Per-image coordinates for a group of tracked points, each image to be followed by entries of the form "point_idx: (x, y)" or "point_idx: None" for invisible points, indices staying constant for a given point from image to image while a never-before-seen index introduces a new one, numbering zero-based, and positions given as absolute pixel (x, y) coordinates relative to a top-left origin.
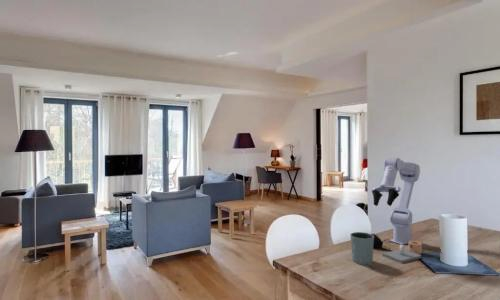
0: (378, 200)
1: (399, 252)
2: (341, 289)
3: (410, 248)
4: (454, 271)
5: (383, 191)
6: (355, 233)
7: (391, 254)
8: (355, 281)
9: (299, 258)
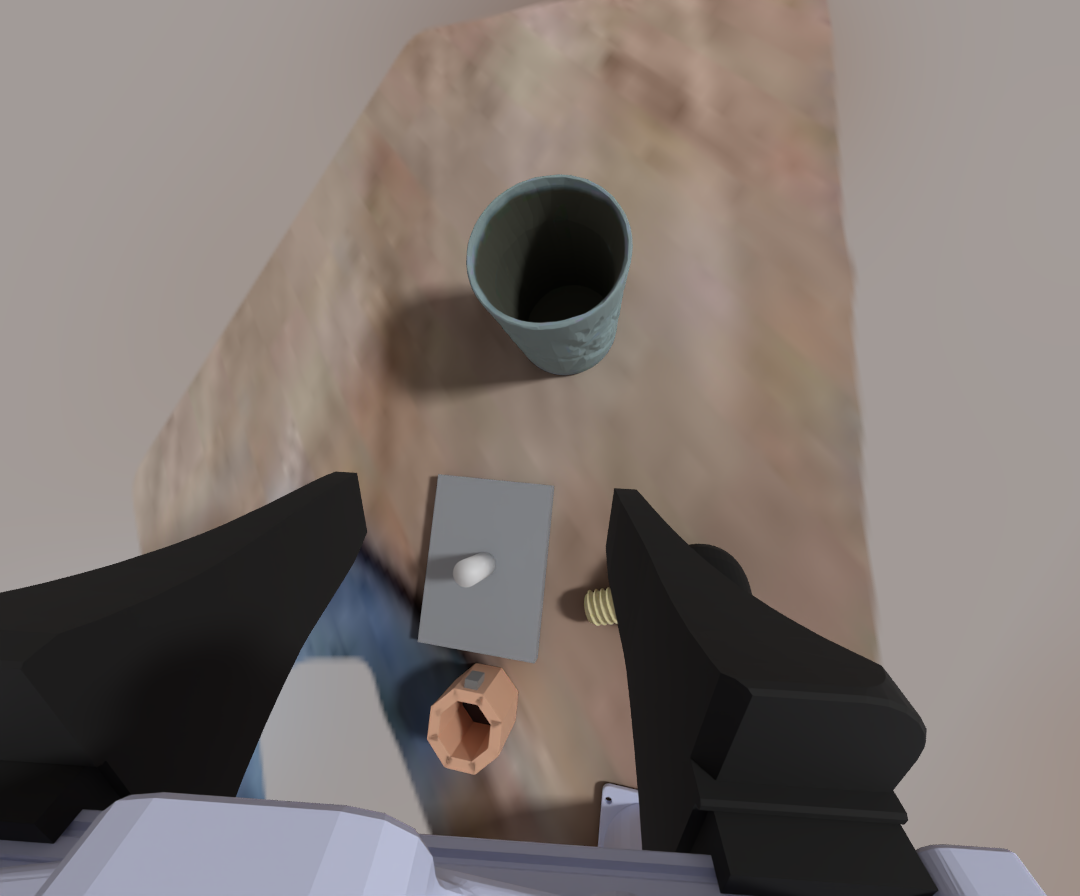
0: (626, 635)
1: (508, 583)
2: (437, 59)
3: (486, 677)
4: None
5: (483, 845)
6: (623, 265)
7: (515, 512)
8: (448, 145)
9: (776, 70)
